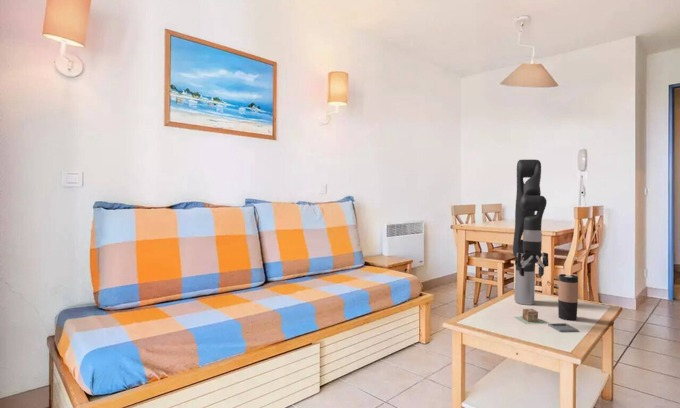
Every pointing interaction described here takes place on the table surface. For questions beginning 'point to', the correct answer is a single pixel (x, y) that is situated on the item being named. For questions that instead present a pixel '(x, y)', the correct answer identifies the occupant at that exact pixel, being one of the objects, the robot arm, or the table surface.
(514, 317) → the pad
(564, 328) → the tray
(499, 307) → the table surface
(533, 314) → the letter cube
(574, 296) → the travel mug
